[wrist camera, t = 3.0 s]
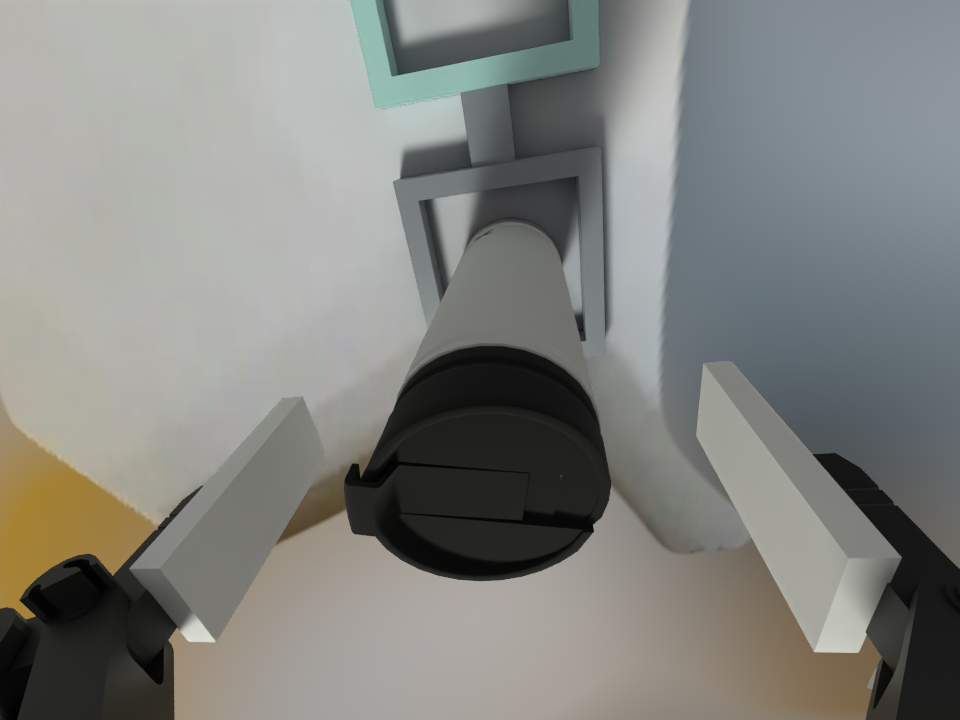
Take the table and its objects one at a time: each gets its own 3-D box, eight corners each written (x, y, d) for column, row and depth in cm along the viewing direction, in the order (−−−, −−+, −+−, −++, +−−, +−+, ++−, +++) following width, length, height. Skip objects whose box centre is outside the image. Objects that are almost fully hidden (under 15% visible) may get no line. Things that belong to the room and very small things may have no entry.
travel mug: (458, 213, 26) (323, 402, 9) (567, 221, 26) (655, 436, 8) (455, 308, 29) (352, 588, 12) (553, 317, 29) (594, 619, 11)
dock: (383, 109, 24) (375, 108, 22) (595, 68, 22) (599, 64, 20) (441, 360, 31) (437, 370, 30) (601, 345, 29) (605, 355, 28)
